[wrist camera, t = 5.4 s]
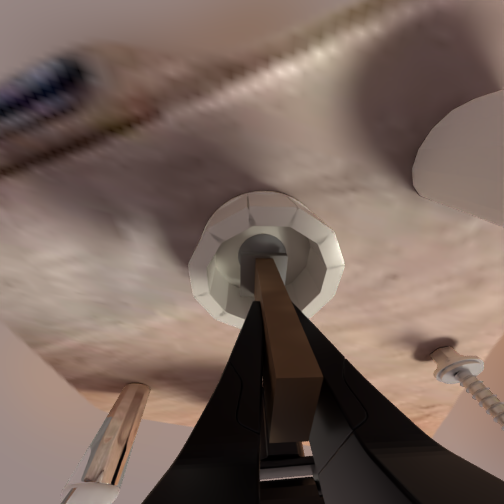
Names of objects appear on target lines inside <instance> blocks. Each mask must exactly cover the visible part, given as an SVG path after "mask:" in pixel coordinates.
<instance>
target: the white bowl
mask: <svg viewBox="0 0 504 504" xmlns="http://www.w3.org/2000/svg"><path fill="white" fill-rule="evenodd" d="M241 252H258V253H286V254H287V255H288V261H287V270H286V280H285V288H286V290H287V292H288V295H289V297H290V299H291V301H292V302H293V303H294V304H295V305H296V306H297V307H298V308H299V309H300V310H301V311H302V313H303V314H304V315H305V316H306V317H307V318H308V319H309V318H311V317H312V316H313V315H315V314H316V313H317V312H318V311H319V310H320V309H321V308H322V307H323V306H324V305H325V304H326V303H328V302H329V301H330V300H331V299H332V298H333V297H334V296H333V295H335V293H336V290H337V287H338V284H339V281H340V279H341V276H342V273H343V270H344V267H345V265H344V264H345V263H344V260H343V257H342V254H341V250H340V247H339V244H338V241H337V238H336V235H335V232H334V231H333V230H332V229H331V228H330V227H329V226H327V225H326V224H325V223H324V222H323V221H322V220H321V219H319V218H318V217H317V216H316V215H315V214H314V213H312V212H311V211H310V210H309V209H308V208H307V207H306V206H304V205H303V204H302V203H301V202H299V201H298V200H296V199H294V198H293V197H291V196H288V195H286V194H283V193H279V192H275V191H254V192H248V193H245V194H242V195H239V196H236V197H234V198H232V199H230V200H229V201H227V202H226V203H224V204H223V205H222V206H221V207H219V208H218V209H217V210H216V211H215V212H214V214H213V215H212V216H211V218H210V219H209V221H208V222H207V224H206V226H205V228H204V231H203V233H202V236H201V239H200V241H199V243H198V245H197V247H196V249H195V251H194V253H193V255H192V257H191V259H190V261H189V263H188V269H189V275H190V281H191V287H192V292H193V296H194V298H195V299H196V300H197V301H198V302H199V303H200V304H201V305H202V307H203V308H204V309H205V310H206V311H207V312H208V313H209V314H210V315H211V316H212V317H213V318H214V319H216V320H217V321H220V322H223V323H225V324H228V325H231V326H234V327H236V328H239V329H241V328H242V326H243V323H244V321H245V319H246V316H247V314H248V311H249V309H250V306H251V304H252V302H253V301H255V298H254V296H240V266H241Z"/></svg>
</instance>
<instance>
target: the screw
mask: <svg viewBox="0 0 504 504" xmlns="http://www.w3.org/2000/svg"><path fill="white" fill-rule="evenodd" d="M430 356H431V358H432V359H433V361H434V362H435V363H436V364H437V369H436V370H435V371H434V377H435V378H436V379H437V380H438V381H440V382H444V383H447V384H455V383H460V385H461V386H463V387H465V388H466V392H468V393H471V394H472V395H473V396H472V398H473V399H475V400H477V401H478V402H479V405H480V406H481V407H484V408H485V409H486V413H487V414H490V415H492V416H493V418H494V421H495V422H497V423H499V424H500V425H501V426H502V430H504V402H501V401H500V400H499V399H498V398H497V395H496V394H493V393H492V392H491V391H490V390H489V389H490V388H488V387H486V386H485V385H483V384H482V383H483V381H479V380H478V379H477V378H476V376H477V375H479V373H481V372H482V371H483V369H484V366H483V365H484V362H483V361H482V360H481V359H480V358H479V357H477V356H463V355H460V354H459V353H458V352H456V351H455V350H454V349H453V348H452V347H451V346H450V347H444V348H438V349H437V350H436V351H434V352H433V353H432V354H430Z"/></svg>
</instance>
